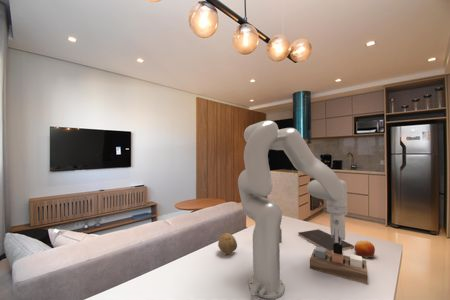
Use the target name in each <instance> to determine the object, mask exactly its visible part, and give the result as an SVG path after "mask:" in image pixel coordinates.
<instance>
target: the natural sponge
mask: <svg viewBox="0 0 450 300" xmlns="http://www.w3.org/2000/svg"><path fill="white" fill-rule="evenodd" d="M217 246H218V248H219V250H220V251H221V253H223V254H224V255H226V256H229V255H231V254H232V253H233V252H235V251H236V250H237V248H238V242H237V240H236V238H235V237H234V235H233V234H232V233H229V232H224V233H223V234H222V235H220V237H219V240H218V243H217Z"/></svg>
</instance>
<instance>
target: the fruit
mask: <svg viewBox="0 0 450 300" xmlns="http://www.w3.org/2000/svg"><path fill="white" fill-rule="evenodd" d="M353 246H354V248H353V249H354V251H355V253H356V255H357V256H362V258H366V259H368V258H373V259H375V257H374V255H375V251H376V248H375V246H374V244H373V243H372V242H370V241H368V240H360V241H357V242H356V243H355V244H354V245H353Z"/></svg>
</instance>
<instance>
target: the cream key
mask: <svg viewBox="0 0 450 300" xmlns="http://www.w3.org/2000/svg"><path fill="white" fill-rule="evenodd" d="M349 257H350V266H353V267H357V268H361V269H362V259H363V257H362V256H359V255H358V254H351V253H350V254H349Z"/></svg>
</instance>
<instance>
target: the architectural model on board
mask: <svg viewBox="0 0 450 300" xmlns="http://www.w3.org/2000/svg"><path fill="white" fill-rule="evenodd" d="M282 237H283V235H282V227H281V226H280V234H279V244H282V242H283V239H282Z"/></svg>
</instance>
